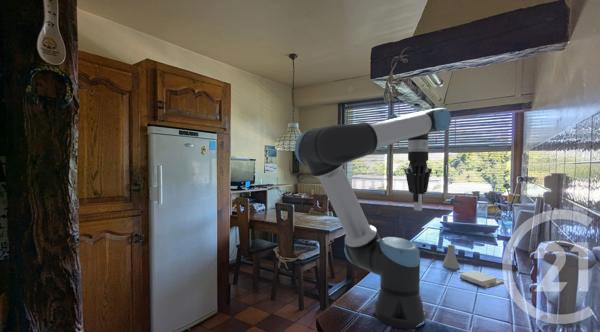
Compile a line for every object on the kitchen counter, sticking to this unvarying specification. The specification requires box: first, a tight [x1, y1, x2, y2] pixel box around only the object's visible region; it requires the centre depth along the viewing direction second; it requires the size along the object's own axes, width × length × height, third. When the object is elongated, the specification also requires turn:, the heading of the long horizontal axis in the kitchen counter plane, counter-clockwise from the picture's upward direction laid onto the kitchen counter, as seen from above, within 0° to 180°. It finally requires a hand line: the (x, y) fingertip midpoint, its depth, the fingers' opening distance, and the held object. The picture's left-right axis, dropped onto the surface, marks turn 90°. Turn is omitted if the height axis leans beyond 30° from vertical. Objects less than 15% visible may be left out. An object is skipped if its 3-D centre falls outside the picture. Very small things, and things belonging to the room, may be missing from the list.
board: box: [459, 275, 504, 289], centre depth 118 cm, size 11×11×1 cm
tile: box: [460, 270, 497, 287], centre depth 118 cm, size 2×9×9 cm
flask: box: [442, 244, 461, 270], centre depth 134 cm, size 7×7×10 cm
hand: (417, 210), depth 115 cm, fingers closed
